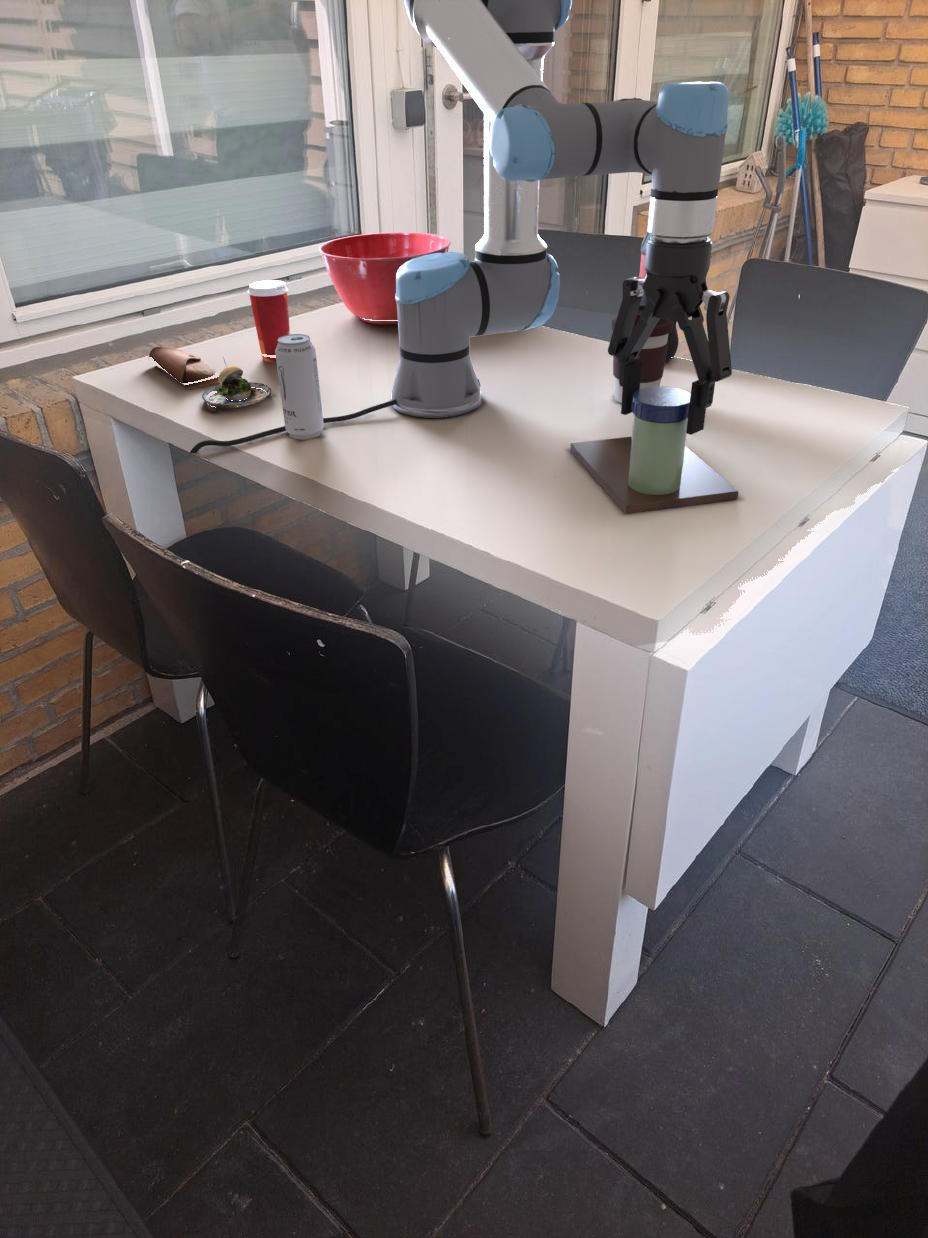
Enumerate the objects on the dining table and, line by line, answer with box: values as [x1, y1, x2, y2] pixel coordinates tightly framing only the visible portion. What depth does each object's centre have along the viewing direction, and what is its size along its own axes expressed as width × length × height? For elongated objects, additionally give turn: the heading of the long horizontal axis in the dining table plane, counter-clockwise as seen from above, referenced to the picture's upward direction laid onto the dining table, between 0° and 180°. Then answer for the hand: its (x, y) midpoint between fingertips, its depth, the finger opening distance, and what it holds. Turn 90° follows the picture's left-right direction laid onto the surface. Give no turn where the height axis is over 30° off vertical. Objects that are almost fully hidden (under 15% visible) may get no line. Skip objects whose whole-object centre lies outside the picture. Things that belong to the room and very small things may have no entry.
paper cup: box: [246, 279, 291, 363], centre depth 173 cm, size 8×8×14 cm
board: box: [569, 436, 740, 514], centre depth 127 cm, size 16×22×1 cm
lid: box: [631, 385, 691, 422], centre depth 115 cm, size 8×8×2 cm
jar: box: [628, 414, 688, 495], centre depth 118 cm, size 7×7×12 cm
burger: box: [201, 356, 273, 413], centre depth 153 cm, size 12×12×8 cm
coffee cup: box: [610, 305, 674, 404], centre depth 149 cm, size 10×10×15 cm
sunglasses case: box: [148, 346, 220, 390], centre depth 168 cm, size 18×7×7 cm
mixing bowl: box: [318, 231, 452, 325], centre depth 197 cm, size 28×28×15 cm
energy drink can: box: [275, 333, 325, 441], centre depth 138 cm, size 6×6×15 cm
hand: (661, 421), depth 116 cm, fingers open, 10 cm apart
